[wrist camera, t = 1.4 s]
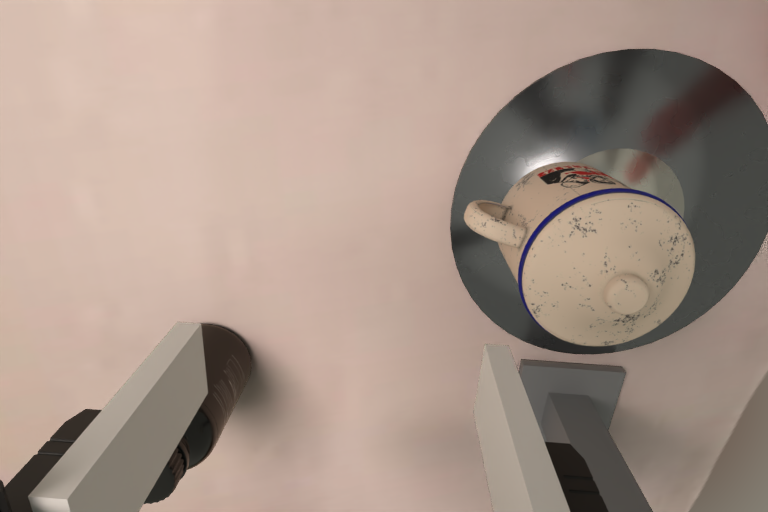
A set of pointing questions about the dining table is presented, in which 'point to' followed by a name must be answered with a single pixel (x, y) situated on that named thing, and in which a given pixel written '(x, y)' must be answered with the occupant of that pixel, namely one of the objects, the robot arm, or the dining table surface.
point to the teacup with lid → (589, 252)
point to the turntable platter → (626, 171)
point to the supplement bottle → (208, 406)
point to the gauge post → (584, 422)
